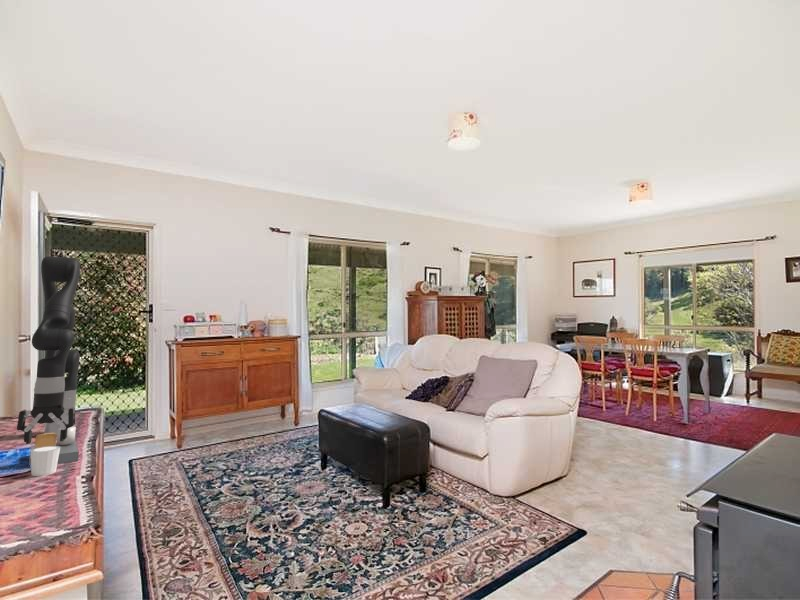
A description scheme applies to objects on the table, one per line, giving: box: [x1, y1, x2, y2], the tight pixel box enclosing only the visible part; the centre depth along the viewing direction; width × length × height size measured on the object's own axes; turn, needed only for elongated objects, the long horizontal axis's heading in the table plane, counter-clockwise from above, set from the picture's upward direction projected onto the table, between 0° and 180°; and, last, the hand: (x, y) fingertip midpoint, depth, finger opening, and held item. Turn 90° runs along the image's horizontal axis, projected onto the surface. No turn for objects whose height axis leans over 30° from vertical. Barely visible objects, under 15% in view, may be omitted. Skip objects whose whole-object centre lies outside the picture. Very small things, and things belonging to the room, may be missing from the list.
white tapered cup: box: [30, 446, 60, 477], centre depth 126 cm, size 7×7×7 cm
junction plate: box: [28, 425, 80, 466], centre depth 139 cm, size 16×12×9 cm
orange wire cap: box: [34, 432, 57, 449], centre depth 135 cm, size 5×5×5 cm
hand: (45, 442), depth 135 cm, fingers open, 8 cm apart
